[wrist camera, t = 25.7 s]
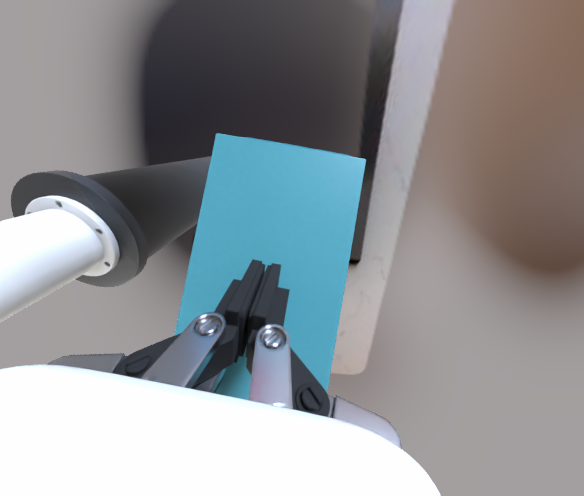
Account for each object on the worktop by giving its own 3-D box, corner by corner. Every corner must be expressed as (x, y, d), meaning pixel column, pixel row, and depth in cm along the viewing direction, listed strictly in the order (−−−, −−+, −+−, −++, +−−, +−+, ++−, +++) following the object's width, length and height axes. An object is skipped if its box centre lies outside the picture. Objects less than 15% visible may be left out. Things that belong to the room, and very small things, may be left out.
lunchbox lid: (317, 429, 14) (331, 521, 9) (166, 400, 14) (99, 475, 9) (362, 164, 15) (396, 118, 10) (220, 139, 15) (185, 82, 10)
